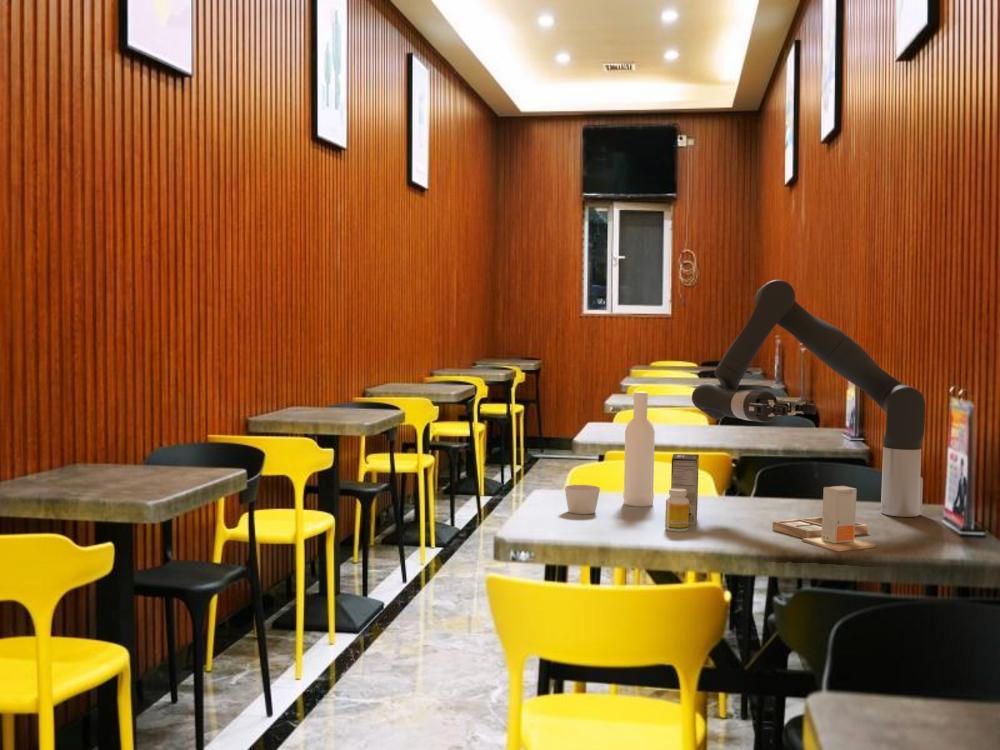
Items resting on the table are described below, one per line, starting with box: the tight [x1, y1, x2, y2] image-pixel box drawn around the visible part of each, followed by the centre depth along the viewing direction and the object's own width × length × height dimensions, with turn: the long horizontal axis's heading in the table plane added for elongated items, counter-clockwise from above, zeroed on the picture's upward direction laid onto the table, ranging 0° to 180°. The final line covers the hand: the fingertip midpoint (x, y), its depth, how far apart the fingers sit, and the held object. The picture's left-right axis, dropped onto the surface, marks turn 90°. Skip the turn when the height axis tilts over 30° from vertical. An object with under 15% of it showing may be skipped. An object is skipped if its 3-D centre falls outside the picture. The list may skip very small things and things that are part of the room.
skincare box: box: [821, 485, 858, 544], centre depth 228 cm, size 6×4×12 cm
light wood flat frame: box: [772, 516, 869, 539], centre depth 242 cm, size 18×12×2 cm, turn 117°
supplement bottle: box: [664, 487, 689, 533], centre depth 242 cm, size 5×5×10 cm
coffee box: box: [670, 453, 700, 526], centre depth 252 cm, size 9×6×16 cm
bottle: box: [622, 391, 656, 508], centre depth 275 cm, size 8×8×30 cm
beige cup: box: [564, 484, 601, 515], centre depth 263 cm, size 9×9×6 cm
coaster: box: [801, 537, 877, 552], centre depth 228 cm, size 11×11×1 cm
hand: (801, 410), depth 239 cm, fingers open, 8 cm apart
